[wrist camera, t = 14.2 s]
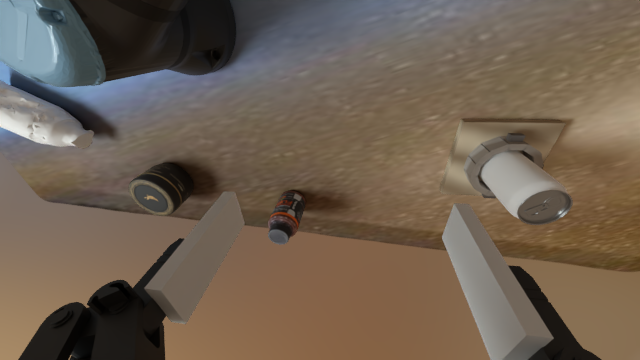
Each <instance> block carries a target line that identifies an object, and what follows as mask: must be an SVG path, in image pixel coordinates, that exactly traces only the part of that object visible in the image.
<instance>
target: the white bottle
mask: <svg viewBox="0 0 640 360" xmlns="http://www.w3.org/2000/svg"><path fill="white" fill-rule="evenodd" d="M0 127H2V128H5V129H7V130H9V131H12V132H14V133H16V134H18V135H21V136H23V137H26V138H28V139H30V140H33V141H35V142H38V143H42V144H50V145H54V146H61V147H64V146H69V145H72V146H76V147H77V148H82V149H84V148H86V147H89V146H90V144H91V143H92V138H93V134H94V132H93V131H92V130H88V131H87V130H85V129H83V127H82V124H81V123H80V122H79V121H78V120H77V119H76V118H74V117H73V116H71V115H70V114H69V113H68V112H67V111H65V110H64V109H62V108H60V107H58V106H56V105H54V104H52V103H49V102H47V101H45V100H42V99H40V98H38V97H35V96H34V95H31V94H29V93H27V92H25V91H23V90H20V89H18V88H16V87H13V86H11V85H8V84H6V83H5V82H3V81H1V80H0Z"/></svg>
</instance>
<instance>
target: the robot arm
mask: <svg viewBox="0 0 640 360" xmlns="http://www.w3.org/2000/svg"><path fill="white" fill-rule="evenodd" d="M235 37H236V27H235V19H234V14H233V10H232V7H231V4H230V1H229V0H0V61H2V62H3V63H4V64H6V65H7V66H9V67H10V68H12V69H14V70H15V71H17V72H19V73H20V74H22V75H24V76H26V77H28V78H30V79H33V80H35V81H38V82H41V83H44V84H50V85H53V86H56V87H75V86H87V85H92V86H95V85H100V84H102V83H103V82H106V81H111V80H116V79H121V78H126V77H131V76H136V75H140V74H145V73H150V72H155V71H160V70H164V69H168V70H172V71H176V72H180V73H183V74H188V75H204V74H208V73H211V72H214V71H216V70H218V69H220V68H221V67H223V66H224V65H225V63H226V62H227V61H228V60H229V58H230V56H231V54H232V51H233V48H234V44H235ZM244 224H245V223H244V220H243V216H242V213H241V210H240V207H239V204H238V200H237V197H236V194H235V192H223V193H222V195H221V196H220V197H219V198H218V199H217V201H216V202H215V203H214V204H213V205H212V207H211V208H210V209H209V210H208V212H207V213H206V214H205V215H204V216H203V218H202V219H201V220H200V221H199V223H198V224H197V225H196V226H195V227H194V228H193V230H192V231H191V232H190V233H189V235H188V236H187V237H186V238H185V239H181V238H180V239H178V240H177V241H176V242H174V243H173V244H171V245H170V246H169V247H168V248H167V250H166V251H165V252H164V253H163V255H162V256H160V258H159V259H158V260H157V262H156V263H154V264H153V266H152V267H151V268H150V269H149V270H148V271H147V272H146V274H145V275H144V276H143V277H142V278H141V279H140V281H139V282H138V283H137V284H136V285H135V286H134V287H133V288H132V287H131V286H130V285H129V284H128V283H127V282H126V281H124V280H116V281H113V282H110V283H108V284H106V285H104V286H102V287H101V288H100V289H99V290H97V291H96V292H95V293H94V294H93V295H92V296H91V297H90V299H89V301H88V303H87V305H88V306H89V308H86V307H85V306H84V305H83V304H82V303H79V302H74V303H69V304H67V305H64V306H62V307H61V308H59V309H58V310H56V311H54V312H53V313H52V314H51V315H50V316H48V317H47V318H46V320H45V321H44V322H43V323H42V324H41V326H40V327H39V329H38V331H37V332H36V334H35V335H34V337H33V338H32V340H31V341H30V343H29V344H28V346H27V347H26V349H25V350H24V352H23V353H22V355H21V356H20V358H19V359H18V360H68V359H69V357H70V355H72V356H71V358H70V360H165V346H164V326H163V323H162V321H163V320H164V318H165V317H166V316H167V317H168V318H169V320H170V321H171V322H176V323H183V324H186V323H187V322H188V320H189V318H190V316H191V315H192V313H193V311H194V310H195V308H196V306H197V304H198V303H199V301H200V299H201V298H202V296H203V294H204V292H205V291H206V289H207V287H208V286H209V284H210V282H211V280H212V279H213V277H214V275H215V274H216V272H217V270H218V268H219V267H220V265H221V263H222V262H223V260H224V258H225V256H226V255H227V253H228V251H229V249H230V248H231V246H232V244H233V243H234V241H235V239H236V238H237V236H238V234H239V232H240V231H241V229H242V227H243V226H244ZM442 239H443V242H444V244H445V247H446V249H447V251H448V254H449V256H450V259H451V261H452V264H453V266H454V269H455V271H456V274H457V276H458V279H459V281H460V284H461V286H462V289H463V291H464V294H465V296H466V299H467V301H468V304H469V306H470V309H471V311H472V314H473V316H474V319H475V321H476V324H477V326H478V329H479V331H480V334H481V336H482V339H483V341H484V344H485V346H486V349H487V351H488V354H489V356H490V359H491V360H601V359H600V358H598V357H597V356H596V355H594V354H593V353H591V352H589V351H587V350H585V349H583V348H582V347H581V346H580V344H579V343H578V342H577V341H576V339H575V338H574V336H573V335H572V333H571V332H570V330H569V329H568V328H567V326H566V325H565V323H564V322H563V320H562V319H561V318H560V316H559V315H558V313H557V312H556V310H555V309H554V308H553V306H552V305H551V303H549V302H548V299H547V298H546V296H545V295H544V293H543V292H541V289H540V288H539V286H538V285H537V283H536V282H535V280H534V279H533V278H532V277H531V276H530V275H529V274H528V273H527V272H526V271H524V270H523V269H522V268H521V267H520V266H508V265H507V264H506V262H505V260H504V259H503V257H502V256H501V254H500V252H499V251H498V249H497V248H496V246H495V244H494V243H493V241H492V240H491V238H490V237H489V235H488V233H487V232H486V230H485V229H484V227H483V225H482V224H481V222H480V221H479V219H478V218H477V216H476V214H475V213H474V211H473V210H472V208H471V206H470V205H469V204H457V203H454V205H453V208H452V211H451V214H450V217H449V219H448V222H447V225H446V228H445V230H444V233H443V236H442Z"/></svg>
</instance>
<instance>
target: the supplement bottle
mask: <svg viewBox="0 0 640 360" xmlns="http://www.w3.org/2000/svg"><path fill="white" fill-rule="evenodd" d="M305 204H306V202H305V199H304V197H303V196H302V195H301V194H300V193H298V192H296V191H286V192H284V193H283V194H282V195H281V197H280V199H279V201H278V203H277V205H276V207H275V209H274V211H273V213H272V215H271V217H270V219H269V222H268V226H269V229H270V231H269V233H268V237H269V239H270V240H271V241H272V242H274V243H276V244H285V243H287V242H288V240H289V238H290V237H291V236H293V235H295V233H296V232H297V229H298V227H299V223H300V220H301V217H302V214H303V211H304V208H305Z"/></svg>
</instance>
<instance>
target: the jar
mask: <svg viewBox="0 0 640 360" xmlns="http://www.w3.org/2000/svg"><path fill="white" fill-rule="evenodd" d="M192 191H193V182H192V179H191V177H190V176H189V174H188V173H187V172H186V171H185V170H183V169H182V168H180V167H179V166H177V165H174V164H169V163H162V164H159V165H156V166H154V167H152V168H150V169H149V170H147V171H146V172H144V173H142V174H140V175H138V176H137V177H136V178H135V179H133V180H132V181H131V182H130V184H129V193H130V195H131V197H132V199H133V200H134V201H135V202H136V204H137V205H139V206H140V207H141V208H142V209H144V210H145V211H147V212H149V213H152V214H154V215H159V216H167V215H170V214H172V213H173V212H174V211H175V210H177V209H178V208H179V207H180V206H181V204H182V203H183V202H184V201H185V200H186V199H187V198H188V197H189V196H190V195H191V193H192Z"/></svg>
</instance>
